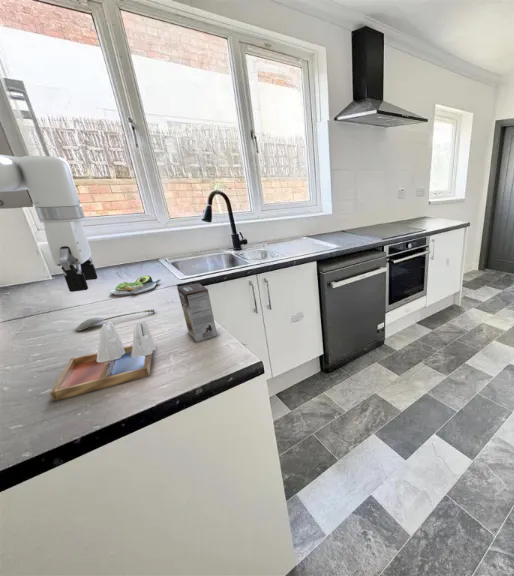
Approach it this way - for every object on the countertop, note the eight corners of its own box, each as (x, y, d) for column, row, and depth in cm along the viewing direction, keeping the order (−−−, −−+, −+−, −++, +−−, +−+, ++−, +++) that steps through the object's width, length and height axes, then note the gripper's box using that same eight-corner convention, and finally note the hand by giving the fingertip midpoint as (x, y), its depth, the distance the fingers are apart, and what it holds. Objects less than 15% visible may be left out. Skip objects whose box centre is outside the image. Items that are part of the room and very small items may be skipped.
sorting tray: (53, 401, 70) (49, 392, 69) (73, 366, 84) (70, 358, 83) (149, 376, 79) (146, 368, 78) (153, 347, 93) (151, 340, 92)
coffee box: (187, 332, 101) (176, 286, 96) (208, 326, 106) (199, 282, 100) (196, 342, 95) (184, 293, 90) (218, 335, 100) (208, 288, 94)
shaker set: (98, 369, 78) (84, 330, 74) (101, 361, 81) (87, 323, 78) (156, 354, 85) (145, 317, 81) (156, 347, 88) (145, 312, 84)
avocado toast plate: (156, 293, 136) (153, 283, 135) (104, 300, 129) (101, 290, 127) (163, 281, 153) (160, 272, 151) (117, 286, 145) (114, 277, 144)
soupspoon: (78, 328, 106) (76, 336, 102) (74, 319, 105) (72, 327, 100) (154, 309, 119) (156, 315, 115) (152, 301, 118) (153, 307, 113)
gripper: (51, 211, 76) (74, 278, 81) (22, 219, 62) (51, 298, 68) (92, 210, 80) (111, 274, 85) (72, 217, 66) (96, 292, 71)
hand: (84, 284), depth 76 cm, fingers open, 9 cm apart
